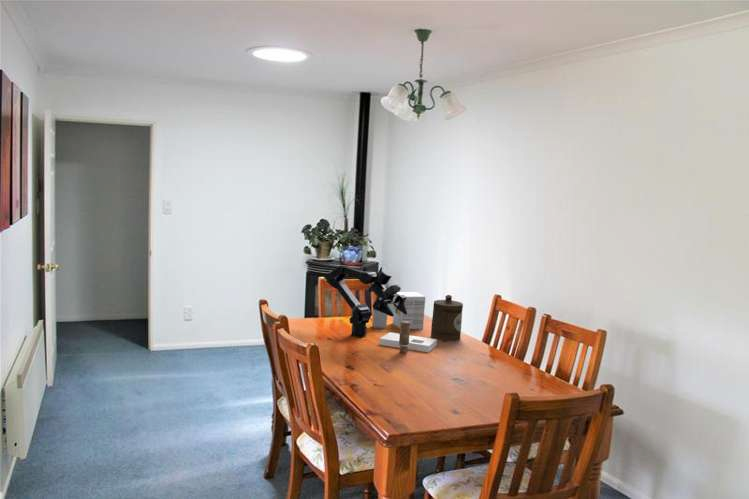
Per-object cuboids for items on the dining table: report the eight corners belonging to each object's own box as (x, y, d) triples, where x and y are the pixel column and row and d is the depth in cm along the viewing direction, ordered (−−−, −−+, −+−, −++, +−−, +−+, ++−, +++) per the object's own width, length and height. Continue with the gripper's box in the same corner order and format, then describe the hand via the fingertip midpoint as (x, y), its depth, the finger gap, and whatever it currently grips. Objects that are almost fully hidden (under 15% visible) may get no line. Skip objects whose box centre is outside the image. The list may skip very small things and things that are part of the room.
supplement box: (392, 323, 350) (394, 291, 348) (414, 323, 354) (416, 291, 352) (400, 329, 337) (402, 296, 335) (423, 329, 341) (426, 296, 339)
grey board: (379, 344, 303) (379, 338, 303) (389, 338, 316) (389, 332, 316) (428, 352, 295) (429, 345, 295) (436, 345, 308) (436, 339, 308)
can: (386, 326, 342) (388, 304, 340) (385, 329, 334) (387, 306, 333) (372, 325, 342) (374, 303, 341) (371, 328, 335) (372, 305, 333)
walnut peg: (396, 353, 291) (398, 322, 289) (400, 350, 295) (402, 320, 293) (406, 354, 289) (408, 324, 287) (409, 352, 293) (411, 322, 292)
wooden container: (461, 342, 317) (465, 298, 315) (431, 340, 317) (434, 296, 315) (458, 335, 332) (461, 293, 329) (429, 333, 332) (432, 291, 329)
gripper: (374, 280, 296) (394, 304, 288) (402, 278, 310) (421, 300, 302) (364, 298, 302) (383, 322, 294) (391, 294, 315) (410, 317, 307)
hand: (399, 314), depth 299 cm, fingers open, 9 cm apart
